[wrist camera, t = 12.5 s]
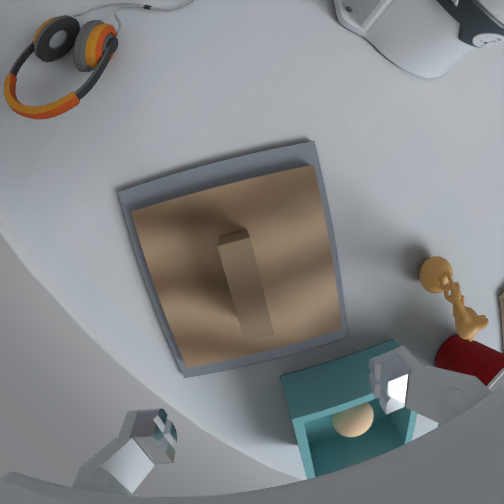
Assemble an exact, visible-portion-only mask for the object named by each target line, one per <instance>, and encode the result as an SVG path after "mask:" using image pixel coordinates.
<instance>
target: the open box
mask: <svg viewBox="0 0 504 504" xmlns="http://www.w3.org/2000/svg"><path fill="white" fill-rule="evenodd" d="M398 347H400V345H399V344H398V343H397V342H396V341H395V340H394V339H392V340H389V341H387V342H384V343H382V344H379V345H376V346H374V347H371V348H368V349H366V350H363V351H360V352H357V353H355V354H352V355H349V356H346V357H343V358H340V359H337V360H334V361H331V362H328V363H324V364H321V365H318V366H315V367H311V368H308V369H304V370H301V371H297V372H294V373H290V374H286V375H283V376H280V378H281V382H282V386H283V390H284V393H285V397H286V401H287V405H288V409H289V413H290V417H291V421H292V424H293V428H294V432H295V436H296V440H297V444H298V447H299V451H300V455H301V458H302V462H303V466H304V469H305V473H306V477H307V479H311V478H315V477H318V476H322V475H325V474H328V473H332V472H335V471H338V470H341V469H344V468H347V467H350V466H353V465H356V464H359V463H361V462H364V461H367V460H369V459H372V458H374V457H377V456H379V455H382V454H384V453H386V452H389V451H391V450H393V449H395V448H398V447H400V446H402V445H404V444H406V443H408V442H411V440H412V436H413V431H414V427H415V422H416V417H417V413H416V412H414V411H412V410H410V409H408V408H406V406H405V407H403V408H401V409H398V410H396V411H393V412H391V413H388V414H385V412H384V410H383V409H382V407H381V406H380V404H379V398H378V397H375V396H374V394H373V393H372V390H371V388H370V384H369V374H370V373H371V370H370V369H369V365H368V362H369V359H371V358H374V357H377V356H379V355H382V354H384V353H387V352H389V351H392V350H394V349H396V348H398ZM365 402H368V403H369V404H370V405H371V407H372V409H373V414H374V417H373V422H372V424H371V426H370V427H369V429H368V430H367V431H366V432H365V433H363V434H361V435H359V436H356V437H346V436H343V435H341V434H339V433H338V432H337V431H336V430H335V428H334V426H333V423H332V415H333V414H335V413H338V412H341V411H343V410H346V409H349V408H352V407H355V406H357V405H360V404H363V403H365Z"/></svg>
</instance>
